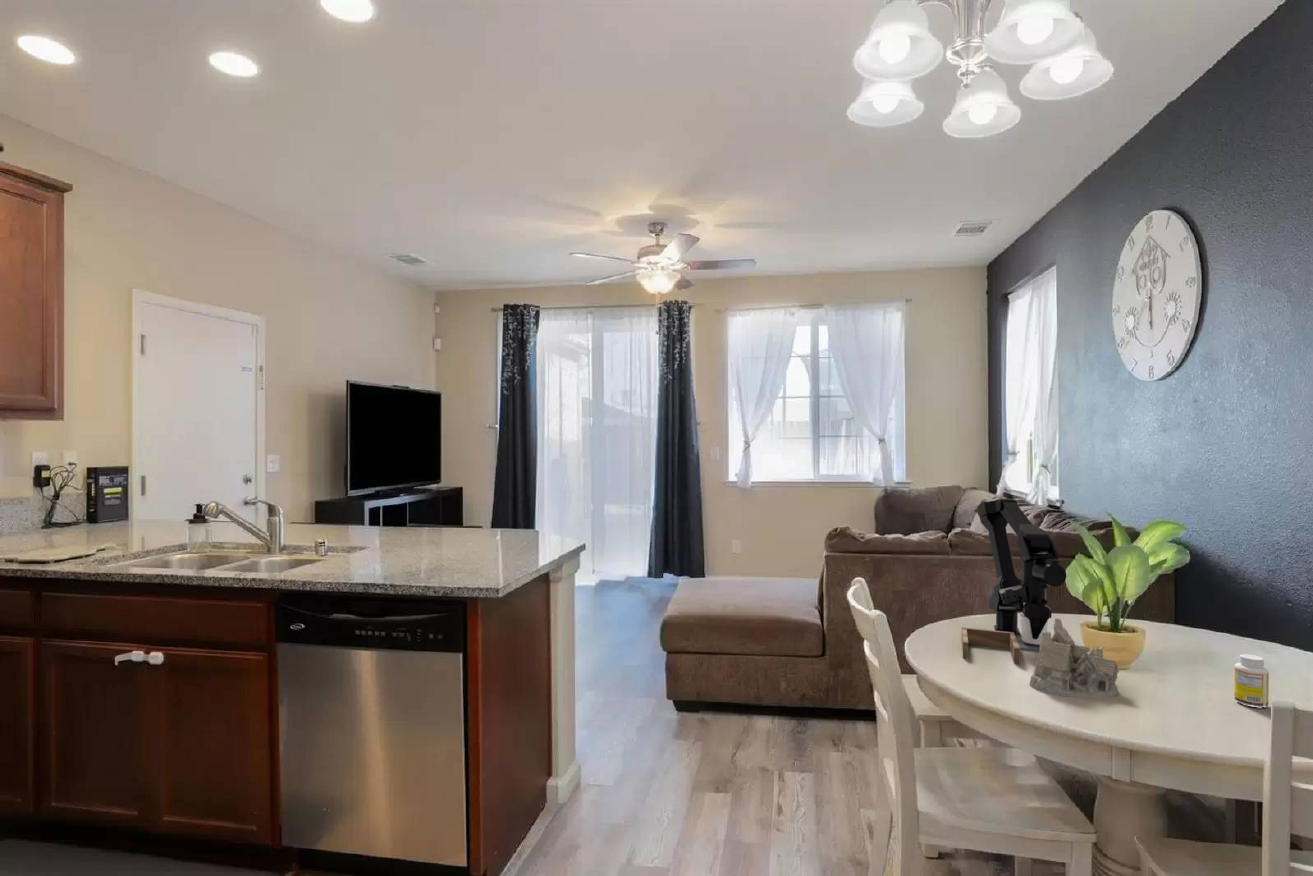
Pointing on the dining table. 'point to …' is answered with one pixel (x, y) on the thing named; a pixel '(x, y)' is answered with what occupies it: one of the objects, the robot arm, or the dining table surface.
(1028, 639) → the white cup
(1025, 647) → the coaster
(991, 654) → the dining table surface
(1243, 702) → the supplement bottle
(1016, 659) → the brown wooden u-shaped piece
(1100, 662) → the ceramic cottage
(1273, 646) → the dining table surface
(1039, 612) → the robot arm
